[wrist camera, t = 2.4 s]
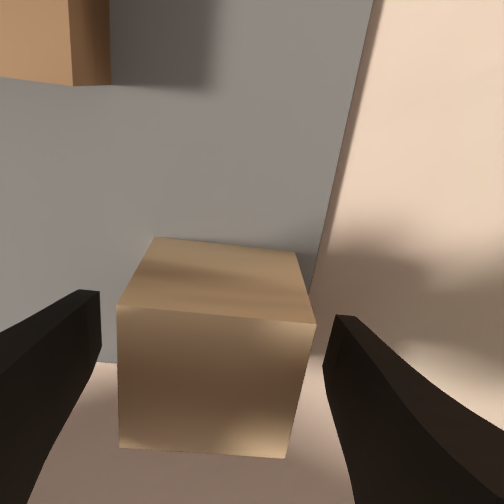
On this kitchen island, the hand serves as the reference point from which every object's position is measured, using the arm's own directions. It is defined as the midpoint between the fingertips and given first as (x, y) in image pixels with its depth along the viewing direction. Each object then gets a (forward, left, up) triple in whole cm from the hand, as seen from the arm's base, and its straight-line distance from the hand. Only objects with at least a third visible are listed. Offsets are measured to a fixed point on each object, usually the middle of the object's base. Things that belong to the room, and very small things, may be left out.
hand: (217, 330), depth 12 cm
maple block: (0, 0, -2) cm, 2 cm away
